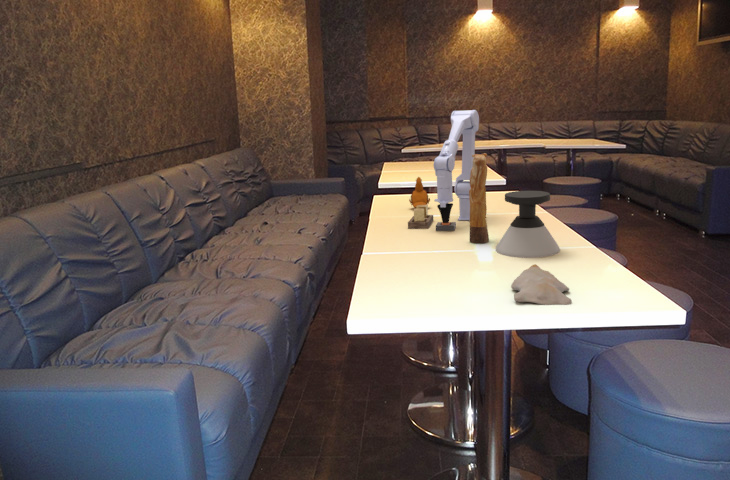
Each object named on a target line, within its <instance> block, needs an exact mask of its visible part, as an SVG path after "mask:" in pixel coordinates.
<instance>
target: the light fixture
mask: <svg viewBox="0 0 730 480" xmlns="http://www.w3.org/2000/svg"><path fill="white" fill-rule="evenodd" d="M504 201H505V202H506V203H510V204H512V205H516V206H518V215H517V216H516V217H515V218H514V219H513V220H512V222H511V223H510V225H509V227H508V229H506V231H505V233H504V234H503V236H502V237H501V238H500V240H499V242H498V243H497V245H496V246H495V252H496V253H497V254H500V255H501V256H507V257H510V258H521V259H524V258H526V259H527V258H528V259H530V258H531V259H534V258H535V259H536V258H537V259H538V258H545V257H551V256H554V255H557V254H559V253H560V251H561V249H560V246H559V244H558V242H557V241H556V239H555V238H554V236H553V235H552V234H551V232H550V231H549V229H548V228H547V226H545V223H544V221H542V219H541V218H540V217H539V215H537V214H536V211H537V210H536V207H537V205H541V204H544V203H547V202H549V201H551V193H550V192H547V191H542V190H518V191H517V190H516V191H510V192H506V193H505V194H504Z"/></svg>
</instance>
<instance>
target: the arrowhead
mask: <svg viewBox="0 0 730 480" xmlns="http://www.w3.org/2000/svg"><path fill="white" fill-rule="evenodd" d="M510 288H511V289H512V290H513V291H518V292H516V293H513V299H514V301H515V302H519V303H534V304H537V305H542V306H543V305H544V306H545V305H546V306H547V305H548V306H549V305H550V306H551V305H553V306H554V305H559V306H560V305H561V306H565V305H567V306H568V305H570V304H571V303H572V299H571V298H570V297H568V296H567V295H566V294H564V293H563V292H568V291H570V288H569V286H567V285H566V284H565V283H563V281H561V280H559V279H558V278H557V277H555V275H554V274H553V273H551V272H550V271H549V270H544V269H542V268H541V267H540V266H539V265H537V264H532V265H531V266H529V267H528V268H526V269H524V270H523V271H522V272H521V273H520V274H519V275H518V276H517V277H516V278H515V279H514V280H513V282H512V283H511V287H510Z"/></svg>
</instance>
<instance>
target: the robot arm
mask: <svg viewBox="0 0 730 480" xmlns="http://www.w3.org/2000/svg"><path fill="white" fill-rule="evenodd" d="M450 123H451V127H450V128H451V129H450V131H449V136H448V139H446V140H445V141H444V142H443V146H442V147H441V150H440V152H439V155H438V156H436V157H435V158H434V161H433V165H432V166H433V168H434V169H433V170H434V172H435V173H434V174H435V177H436V191H437V192H436V194H437V198H435V199H434V202H437V203H438V204H437V205H436V207H437V209H438V211H439V213H440V217H441V222H443V223H449V222H450V217H451V212H452V208H453V206H454V204H453V203H452V202H454V199H453V198H454V197H453V189H454V193H455V195H456V196H457V198H458V202H459V203H458V204H459V206H458V207H459V216H458V217H457V220H458V221H470V200H469V190H470V189H471V187H470V173H471V169H472V167H473V157H472V155H474V154H476V152H475V149H476V148H475V147H476V146H475V145H476V133H477V132H478V131H479V127H480V116H479V112H478V111H477V110H476V109H472V110H471V109H470V110H468V109H467V110H466V109H465V110H453V111H452V112H451V114H450ZM461 135H462V145H461V146H462V150H461V152H462V153H461V173H460V174H459V175H458V176H457V177H456V178H455V184H454V187H453V171H454V169H455V165H456V164H455V162H456V155H457V152H458V149H459V144H458V142H459V140H460V138H461Z"/></svg>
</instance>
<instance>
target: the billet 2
mask: <svg viewBox="0 0 730 480" xmlns="http://www.w3.org/2000/svg"><path fill="white" fill-rule="evenodd" d="M413 216H414V222H425V219H424V208H420V209H416V208H413Z"/></svg>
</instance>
